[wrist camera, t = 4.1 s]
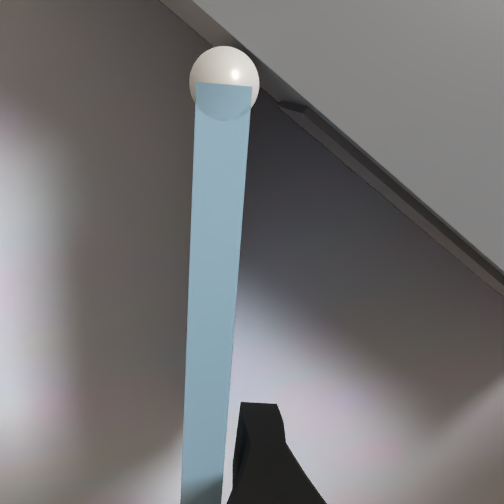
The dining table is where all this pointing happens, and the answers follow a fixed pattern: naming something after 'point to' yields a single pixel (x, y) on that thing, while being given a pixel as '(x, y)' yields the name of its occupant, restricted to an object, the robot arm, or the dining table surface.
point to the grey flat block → (390, 100)
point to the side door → (214, 260)
